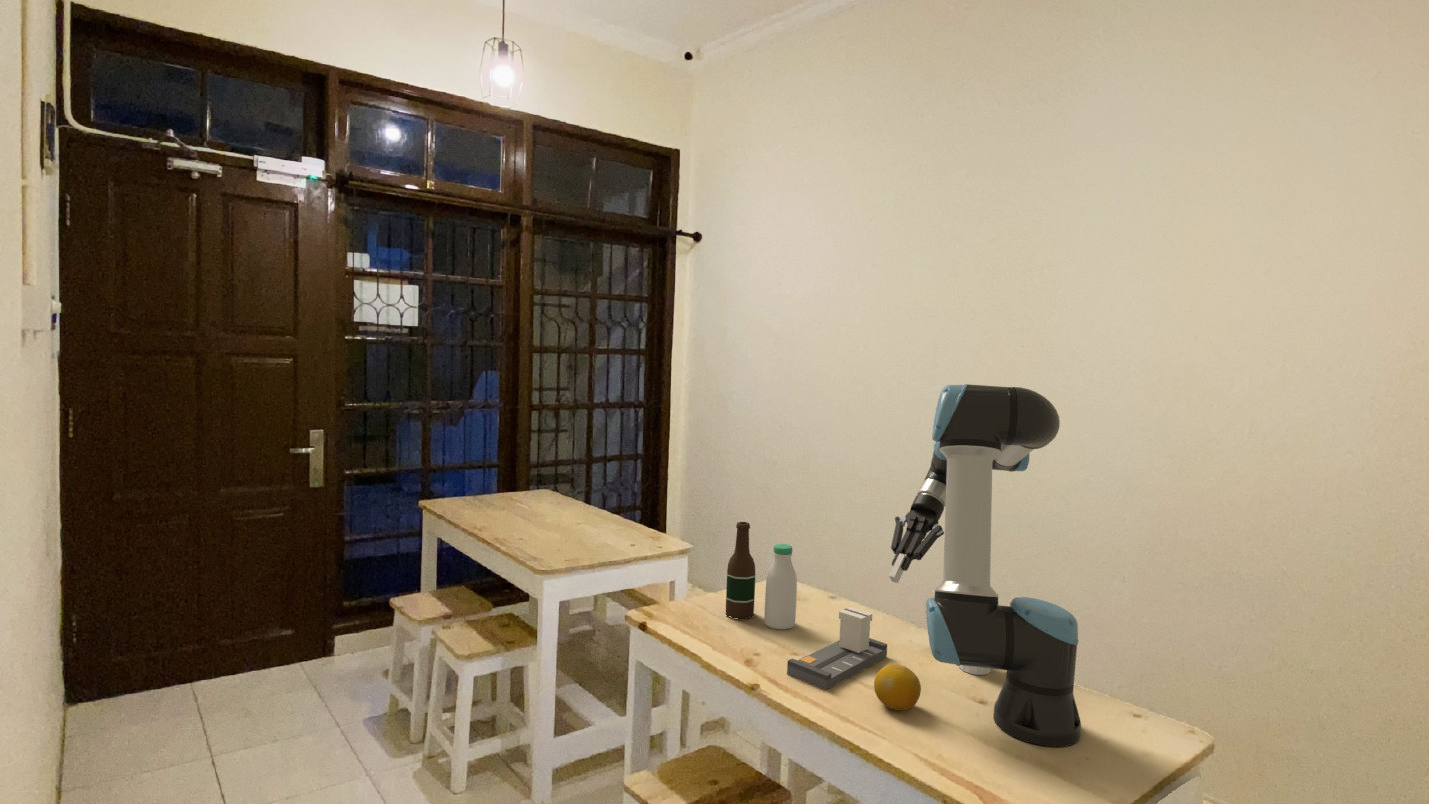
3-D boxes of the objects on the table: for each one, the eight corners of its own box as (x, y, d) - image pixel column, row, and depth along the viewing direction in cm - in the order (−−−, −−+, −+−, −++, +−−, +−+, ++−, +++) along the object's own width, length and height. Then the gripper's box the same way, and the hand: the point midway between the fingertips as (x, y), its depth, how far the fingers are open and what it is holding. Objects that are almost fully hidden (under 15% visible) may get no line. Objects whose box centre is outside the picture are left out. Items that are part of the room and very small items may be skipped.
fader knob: (848, 640, 175) (850, 606, 174) (870, 648, 171) (872, 613, 170) (837, 646, 171) (839, 611, 171) (859, 654, 168) (861, 618, 167)
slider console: (848, 643, 179) (849, 631, 179) (886, 656, 172) (887, 644, 172) (787, 674, 162) (787, 660, 161) (826, 690, 155) (826, 675, 155)
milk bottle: (799, 629, 187) (803, 549, 185) (769, 631, 185) (773, 550, 183) (789, 618, 194) (792, 541, 193) (760, 619, 192) (763, 542, 191)
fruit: (921, 702, 151) (924, 663, 150) (916, 720, 144) (919, 679, 143) (876, 693, 154) (879, 655, 154) (869, 710, 147) (871, 670, 146)
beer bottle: (759, 612, 197) (763, 521, 195) (747, 622, 190) (751, 528, 188) (731, 607, 201) (735, 517, 198) (719, 616, 193) (723, 524, 191)
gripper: (958, 515, 191) (922, 594, 181) (911, 505, 200) (874, 581, 189) (950, 497, 187) (913, 577, 176) (902, 488, 196) (864, 564, 185)
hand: (893, 579), depth 183 cm, fingers closed
